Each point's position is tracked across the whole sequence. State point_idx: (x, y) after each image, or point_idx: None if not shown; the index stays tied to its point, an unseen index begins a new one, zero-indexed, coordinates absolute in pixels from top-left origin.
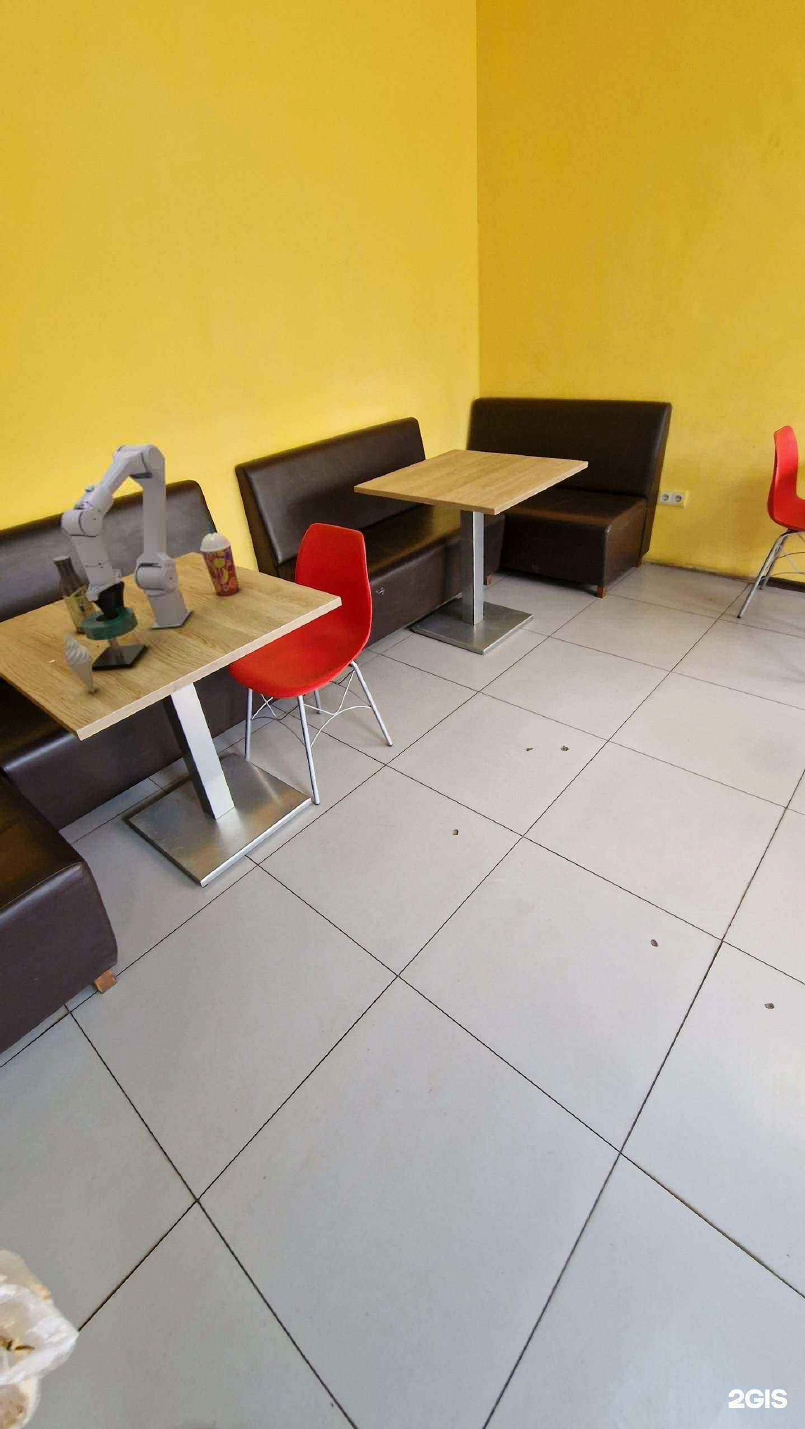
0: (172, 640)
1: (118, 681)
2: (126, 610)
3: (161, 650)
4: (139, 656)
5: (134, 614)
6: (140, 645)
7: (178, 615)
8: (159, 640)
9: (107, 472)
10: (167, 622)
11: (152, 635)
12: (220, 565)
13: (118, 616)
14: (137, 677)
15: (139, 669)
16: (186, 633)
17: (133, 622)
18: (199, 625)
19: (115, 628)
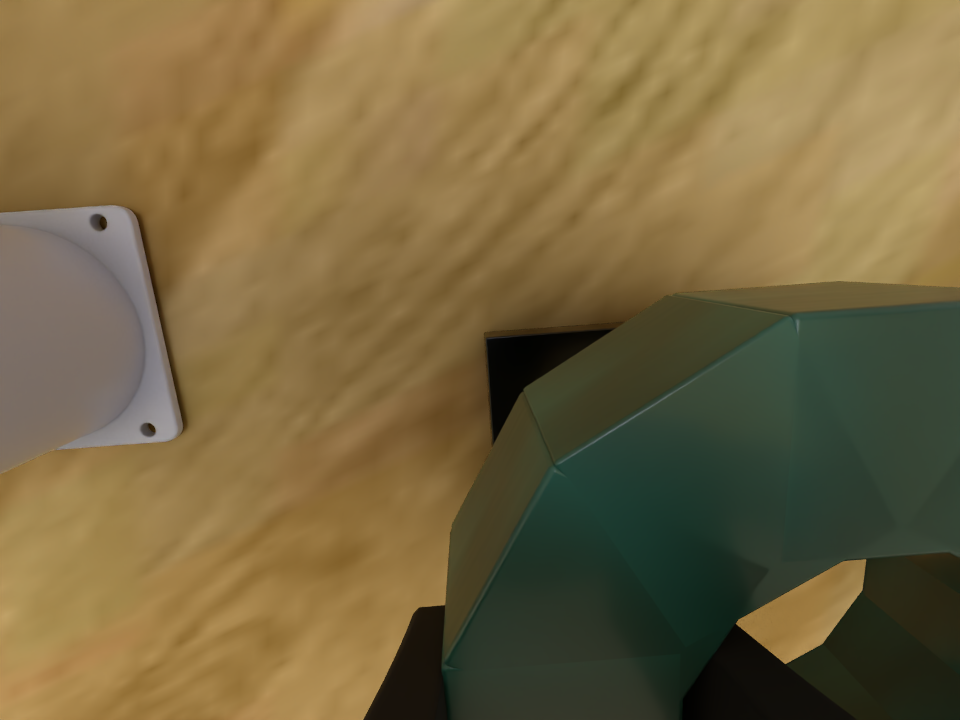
0: (373, 176)
1: None
2: (668, 515)
3: (530, 198)
4: (622, 323)
5: (762, 309)
6: (508, 366)
7: (1, 230)
8: (367, 289)
9: None
10: (117, 312)
11: (285, 383)
12: None
13: (934, 539)
14: (904, 206)
15: (792, 244)
16: (253, 99)
17: (828, 290)
18: (100, 30)
19: None
